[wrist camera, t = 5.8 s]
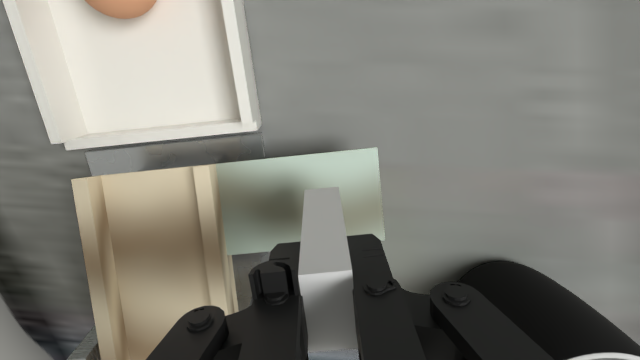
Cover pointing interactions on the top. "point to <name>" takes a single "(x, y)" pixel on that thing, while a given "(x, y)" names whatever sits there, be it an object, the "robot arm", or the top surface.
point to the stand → (173, 157)
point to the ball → (122, 7)
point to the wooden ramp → (200, 234)
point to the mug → (550, 313)
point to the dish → (137, 70)
